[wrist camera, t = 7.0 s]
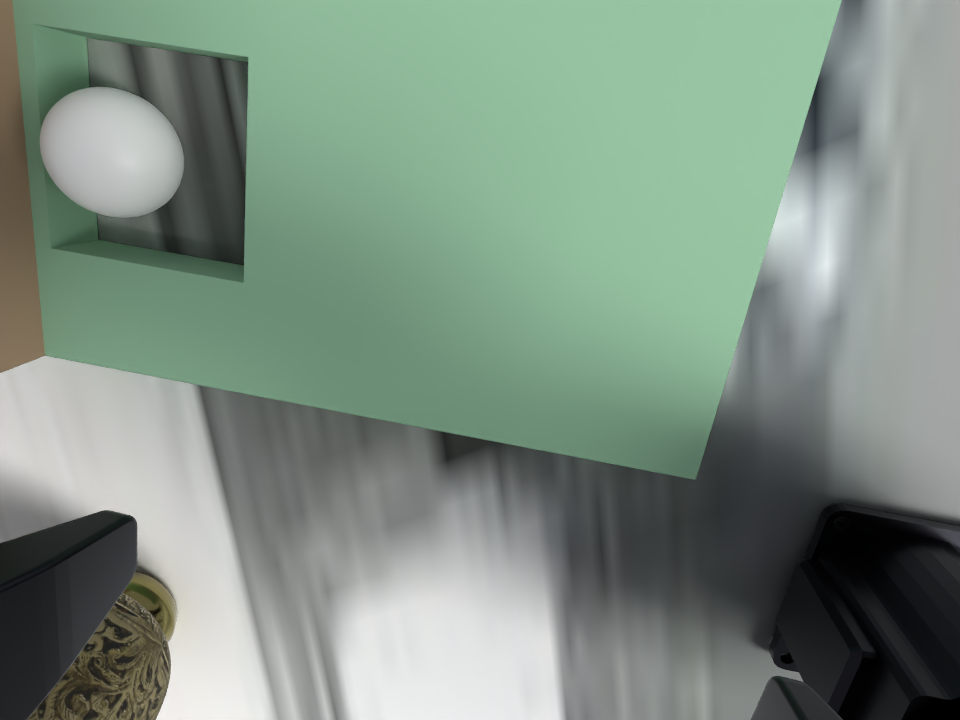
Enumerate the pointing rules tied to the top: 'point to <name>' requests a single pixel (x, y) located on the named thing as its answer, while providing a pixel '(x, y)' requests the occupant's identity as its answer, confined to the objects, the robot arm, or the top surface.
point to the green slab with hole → (438, 210)
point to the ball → (111, 152)
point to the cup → (120, 661)
